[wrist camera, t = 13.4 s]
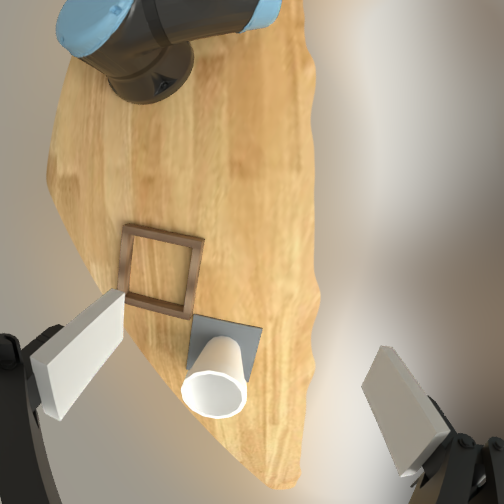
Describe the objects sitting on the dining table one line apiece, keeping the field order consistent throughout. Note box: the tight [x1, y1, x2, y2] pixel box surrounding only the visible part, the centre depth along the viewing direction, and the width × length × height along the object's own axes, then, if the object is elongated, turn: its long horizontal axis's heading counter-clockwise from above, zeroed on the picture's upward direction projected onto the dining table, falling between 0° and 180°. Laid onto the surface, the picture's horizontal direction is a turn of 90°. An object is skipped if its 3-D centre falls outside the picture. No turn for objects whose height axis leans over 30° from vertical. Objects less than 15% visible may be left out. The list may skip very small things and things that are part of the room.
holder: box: [117, 223, 205, 320], centre depth 47 cm, size 13×13×2 cm
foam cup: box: [181, 336, 247, 419], centre depth 45 cm, size 10×9×13 cm
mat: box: [186, 314, 262, 382], centre depth 51 cm, size 12×12×1 cm
